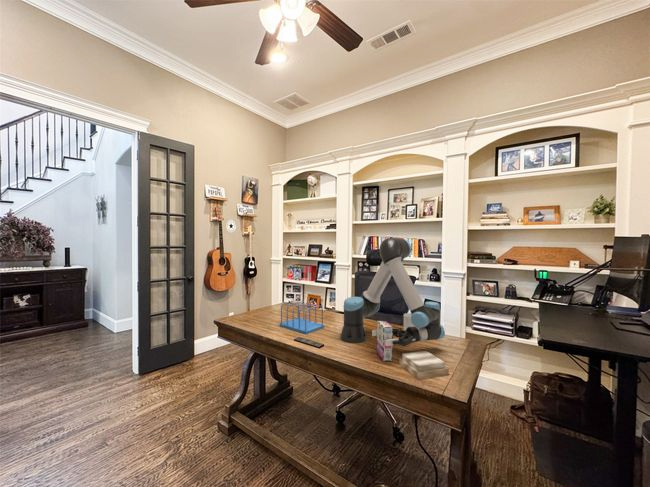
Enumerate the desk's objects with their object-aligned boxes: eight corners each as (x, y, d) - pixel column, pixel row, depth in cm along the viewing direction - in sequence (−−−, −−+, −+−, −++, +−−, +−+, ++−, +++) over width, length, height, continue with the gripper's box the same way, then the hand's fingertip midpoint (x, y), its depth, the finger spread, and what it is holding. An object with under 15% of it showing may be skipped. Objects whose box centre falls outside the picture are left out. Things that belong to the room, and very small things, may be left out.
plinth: (398, 363, 127) (398, 353, 127) (426, 360, 131) (426, 349, 131) (418, 379, 113) (418, 367, 113) (448, 374, 117) (448, 363, 117)
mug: (413, 336, 165) (413, 317, 164) (400, 332, 171) (401, 314, 171) (423, 331, 173) (423, 314, 173) (410, 328, 179) (411, 311, 179)
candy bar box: (393, 361, 130) (393, 327, 130) (383, 361, 129) (383, 327, 129) (386, 352, 141) (386, 320, 141) (376, 352, 140) (376, 320, 140)
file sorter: (279, 326, 183) (279, 303, 183) (298, 320, 197) (298, 299, 197) (305, 334, 167) (306, 309, 167) (324, 327, 180) (324, 304, 180)
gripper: (432, 350, 128) (391, 355, 122) (402, 333, 152) (367, 337, 146) (432, 334, 128) (392, 339, 122) (402, 320, 152) (367, 323, 146)
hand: (378, 338), depth 134 cm, fingers open, 13 cm apart
